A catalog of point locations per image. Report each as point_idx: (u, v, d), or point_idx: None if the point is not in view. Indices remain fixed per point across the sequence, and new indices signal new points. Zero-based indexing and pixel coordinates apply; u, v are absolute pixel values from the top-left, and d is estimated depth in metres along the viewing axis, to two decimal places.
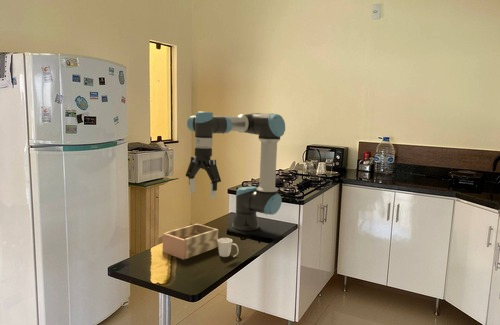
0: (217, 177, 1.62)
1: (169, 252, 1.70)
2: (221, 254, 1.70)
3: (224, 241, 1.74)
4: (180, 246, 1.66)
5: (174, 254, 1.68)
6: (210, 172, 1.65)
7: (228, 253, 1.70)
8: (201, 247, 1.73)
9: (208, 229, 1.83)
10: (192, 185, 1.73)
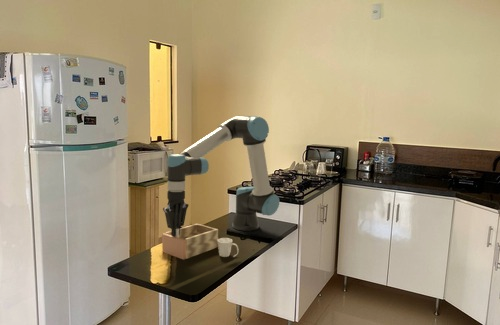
0: (168, 224, 1.66)
1: (169, 252, 1.70)
2: (221, 254, 1.70)
3: (224, 241, 1.74)
4: (180, 246, 1.65)
5: (174, 254, 1.68)
6: (171, 217, 1.67)
7: (228, 253, 1.70)
8: (201, 247, 1.73)
9: (208, 229, 1.83)
10: None
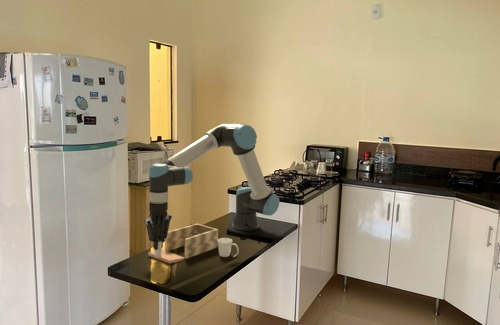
0: (150, 237, 1.58)
1: None
2: (221, 254, 1.70)
3: (224, 241, 1.74)
4: None
5: None
6: (153, 230, 1.60)
7: (228, 253, 1.70)
8: (201, 247, 1.73)
9: (208, 229, 1.83)
10: None
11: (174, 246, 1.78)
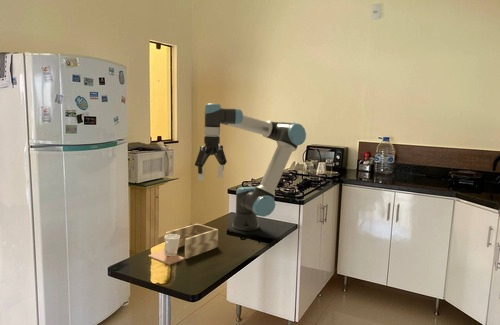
0: (197, 161, 1.81)
1: None
2: None
3: (178, 239, 1.69)
4: None
5: None
6: (203, 157, 1.84)
7: (167, 249, 1.67)
8: (201, 247, 1.73)
9: (208, 229, 1.83)
10: (219, 170, 1.94)
11: None
